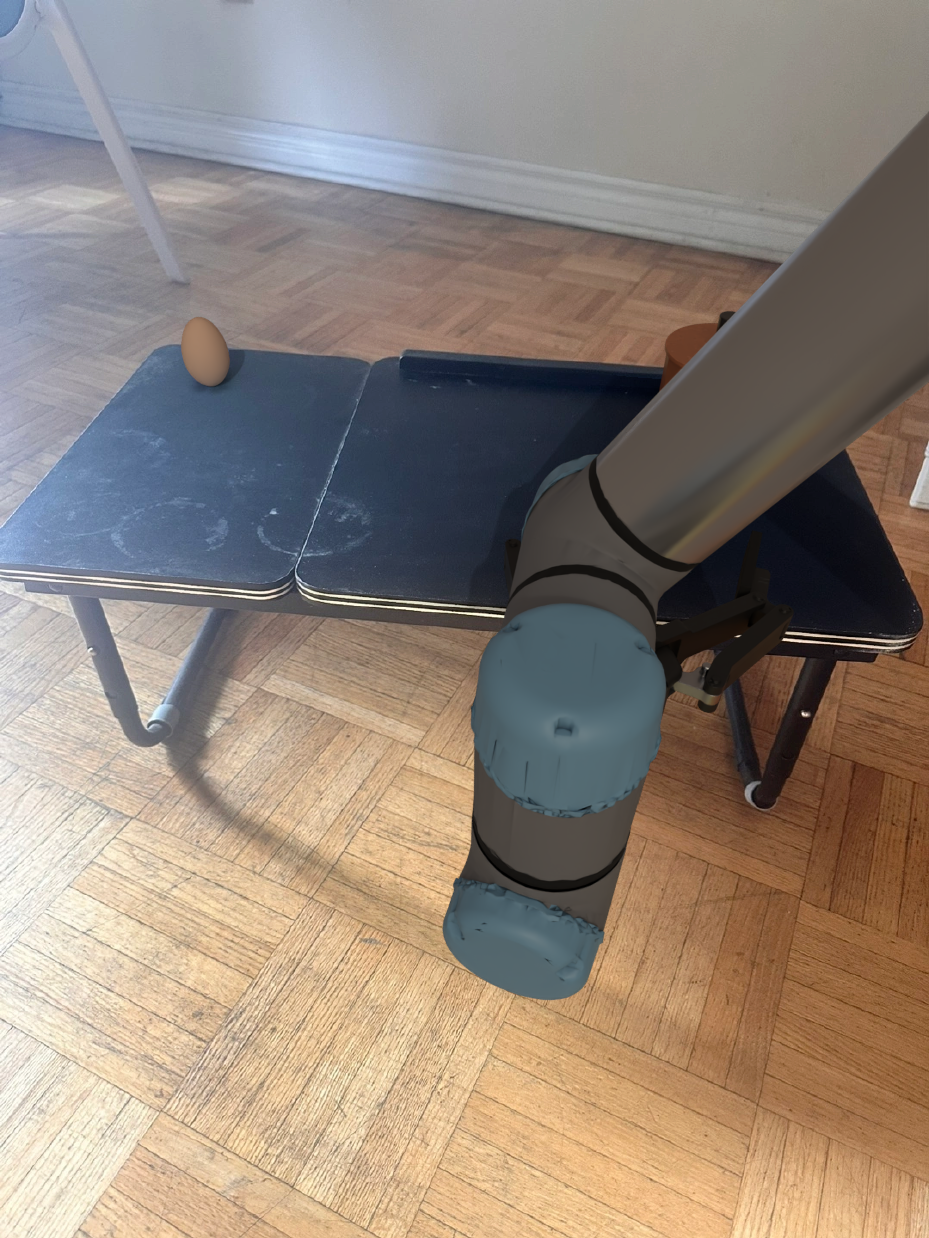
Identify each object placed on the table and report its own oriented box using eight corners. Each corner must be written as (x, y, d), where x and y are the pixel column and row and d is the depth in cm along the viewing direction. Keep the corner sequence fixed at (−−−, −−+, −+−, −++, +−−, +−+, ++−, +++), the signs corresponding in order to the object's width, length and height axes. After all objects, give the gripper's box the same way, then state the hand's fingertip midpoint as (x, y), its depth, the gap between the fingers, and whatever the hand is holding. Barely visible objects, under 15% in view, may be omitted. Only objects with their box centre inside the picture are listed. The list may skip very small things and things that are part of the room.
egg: (194, 399, 96) (177, 331, 90) (186, 379, 99) (169, 312, 94) (239, 390, 98) (225, 323, 92) (229, 370, 101) (215, 305, 95)
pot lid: (770, 335, 91) (781, 293, 87) (791, 389, 82) (805, 345, 79) (659, 330, 91) (666, 289, 88) (668, 383, 83) (677, 340, 80)
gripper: (403, 709, 55) (507, 526, 69) (789, 829, 48) (816, 601, 62) (397, 629, 49) (511, 449, 64) (830, 753, 43) (849, 522, 57)
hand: (662, 524), depth 63 cm, fingers open, 13 cm apart
